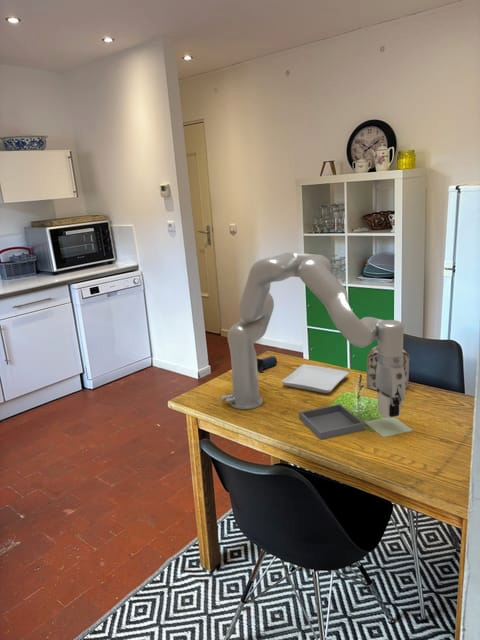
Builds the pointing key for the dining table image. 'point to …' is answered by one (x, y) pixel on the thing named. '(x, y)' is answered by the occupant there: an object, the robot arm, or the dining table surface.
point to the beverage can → (266, 363)
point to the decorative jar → (372, 366)
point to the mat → (388, 426)
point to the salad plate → (315, 378)
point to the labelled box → (385, 405)
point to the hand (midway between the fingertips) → (388, 411)
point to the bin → (331, 421)
